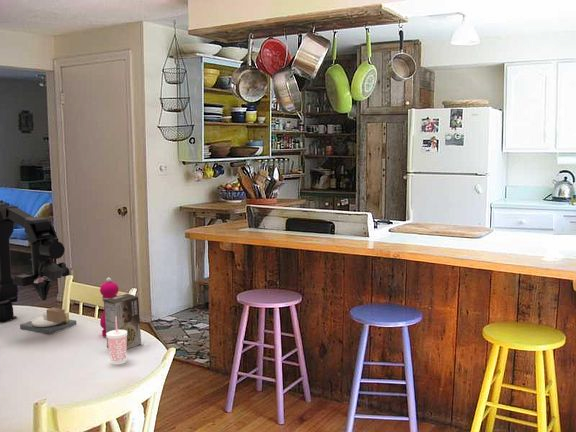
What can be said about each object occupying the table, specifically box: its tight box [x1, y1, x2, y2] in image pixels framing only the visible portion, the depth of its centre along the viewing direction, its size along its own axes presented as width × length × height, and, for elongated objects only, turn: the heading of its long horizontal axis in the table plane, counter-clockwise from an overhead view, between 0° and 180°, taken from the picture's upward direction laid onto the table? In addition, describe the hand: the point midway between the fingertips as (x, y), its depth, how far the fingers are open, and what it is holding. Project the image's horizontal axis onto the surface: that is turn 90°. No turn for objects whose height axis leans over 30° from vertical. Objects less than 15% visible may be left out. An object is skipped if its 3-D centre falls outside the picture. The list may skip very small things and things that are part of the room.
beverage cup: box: [105, 316, 128, 365], centre depth 181 cm, size 6×6×14 cm
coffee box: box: [103, 293, 142, 350], centre depth 194 cm, size 9×6×16 cm
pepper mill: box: [99, 277, 120, 338], centre depth 206 cm, size 7×7×20 cm
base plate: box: [19, 318, 77, 335], centre depth 217 cm, size 15×12×2 cm
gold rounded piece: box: [63, 312, 70, 324], centre depth 216 cm, size 2×2×4 cm
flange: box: [31, 307, 66, 327], centre depth 216 cm, size 11×13×5 cm
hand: (44, 300), depth 208 cm, fingers closed
